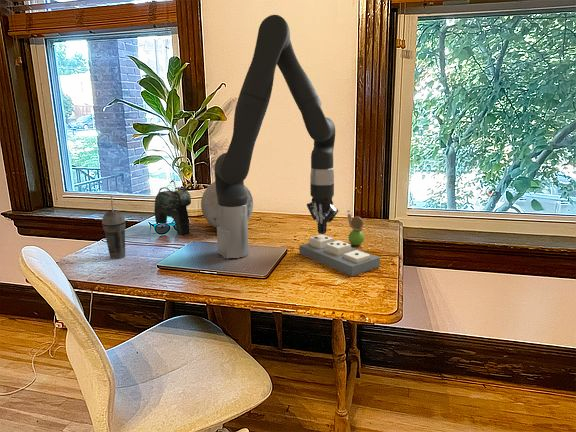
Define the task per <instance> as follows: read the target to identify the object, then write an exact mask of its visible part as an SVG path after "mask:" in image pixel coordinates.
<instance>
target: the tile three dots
mask: <svg viewBox="0 0 576 432" xmlns="http://www.w3.org/2000/svg"><path fill="white" fill-rule="evenodd" d="M333 241H334V242H330V243H327V244H326V252H329V253H331V254H334V255H336V256H340V255H343V254H345V253H348V252H351V247H352V244H351V243H347V242H345V241H341V240H339V239H338V240H333Z"/></svg>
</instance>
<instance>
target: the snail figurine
mask: <svg viewBox="0 0 576 432" xmlns="http://www.w3.org/2000/svg"><path fill="white" fill-rule="evenodd" d="M347 218H348V219H347V220H348V225H349V228H351V229H352V230H351V231H350V232H349V233H348V241H349V244H351V246H352V245H353V246H359V245H362V244H363V242H364V240H365V234H364V233H363V232H362V231H363V229H364V228H363V226H364V221H363V218H362V217H360V216H356V215H355V216H353V218H352V214H351V213H350V209H349V210H347Z"/></svg>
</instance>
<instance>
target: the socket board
mask: <svg viewBox="0 0 576 432" xmlns="http://www.w3.org/2000/svg"><path fill="white" fill-rule="evenodd" d="M334 241H335V240H333V242H334ZM355 250H358V251H361V252H364V253H366V254H369V255H370V260H367V261H364V262H361V263H358V264H357V263H354V262H352V261H349V260H347V259H344V254H343V255H340V256H336V255H334V254H331V253H329V252H326V248H323V249H319V248H316V247H313V246H311V245H309V242H306V243H303V244H299V249H298V251H299V252H298V253H299V255H301V256H303V257H306V258H309V259H311V260H313V261H315V262H316V263H317V262H318V263H320V264H322V265H325V266H327V267H330V268H332V269H334V270H337V271H338V272H341V273H343V274H345V275H348V276H350V277H354V276H357V275H360V274H363V273H366V272H369V271H372V270H375V269H376V268H380V265H381V257H380V256H377V255H374V254H372V253H369V252H366V251H363V250H361V249H357V248H355V247H352V246H351V252H352V251H355Z"/></svg>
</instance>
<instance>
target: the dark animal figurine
mask: <svg viewBox="0 0 576 432" xmlns="http://www.w3.org/2000/svg"><path fill="white" fill-rule="evenodd" d="M169 183H170V184H172V183H173V184H174V190H170V188H168V187H161V188H159V190H158V193H157V194H156V196H155V197H154V198H155V199H154V212H153V213H154V219H155V222H156V223H155V224H158V223H167V222H168V217H170V218H172V220H173V221H174V224H175V226H176V234H177V235H180V236H186V235H189V234H190V221H189V219H190V218H189V212H188V209H187V207H188V206H190V205H191V203H192V199H191V197H192V196H191V195H190V192H189V191H188V190H187V189H188V188H187V187H184V188H183V189H181V187H178V189H177V187H176V182H175V181H174V180H171V181H170V182H169ZM162 189H166V190H163V191H162Z"/></svg>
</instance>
